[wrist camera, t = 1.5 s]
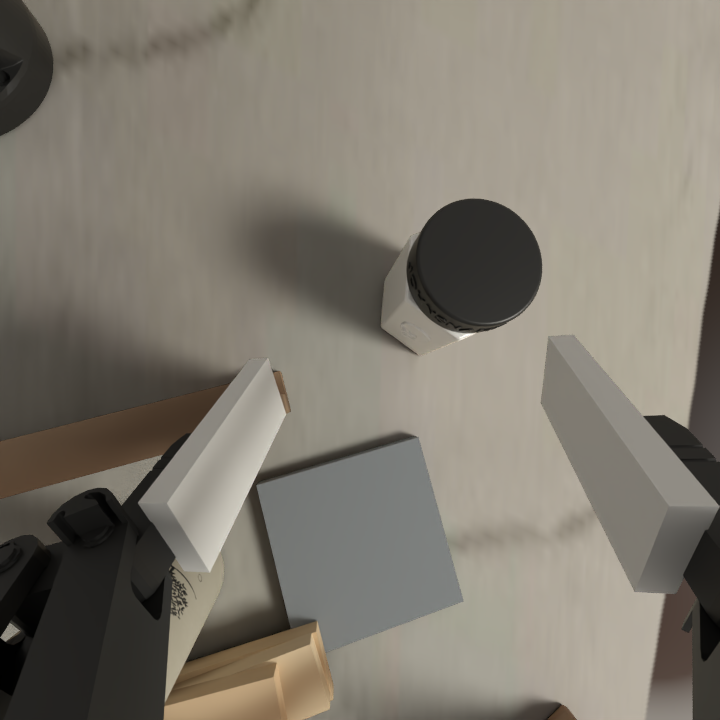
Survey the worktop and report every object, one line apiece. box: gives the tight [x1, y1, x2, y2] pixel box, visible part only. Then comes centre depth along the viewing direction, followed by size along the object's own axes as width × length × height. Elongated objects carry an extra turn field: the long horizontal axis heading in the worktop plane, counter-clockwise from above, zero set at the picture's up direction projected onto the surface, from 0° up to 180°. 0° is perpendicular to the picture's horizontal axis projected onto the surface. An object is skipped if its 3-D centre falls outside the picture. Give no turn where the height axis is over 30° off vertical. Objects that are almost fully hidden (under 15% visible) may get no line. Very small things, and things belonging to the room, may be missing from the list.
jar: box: [381, 199, 542, 356], centre depth 28 cm, size 9×8×12 cm
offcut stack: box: [164, 621, 333, 720], centre depth 26 cm, size 6×20×4 cm, turn 105°
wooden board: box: [0, 371, 291, 499], centre depth 21 cm, size 4×24×17 cm, turn 105°
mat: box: [256, 436, 463, 653], centre depth 30 cm, size 14×14×1 cm
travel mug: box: [6, 552, 224, 702], centre depth 20 cm, size 8×8×18 cm
